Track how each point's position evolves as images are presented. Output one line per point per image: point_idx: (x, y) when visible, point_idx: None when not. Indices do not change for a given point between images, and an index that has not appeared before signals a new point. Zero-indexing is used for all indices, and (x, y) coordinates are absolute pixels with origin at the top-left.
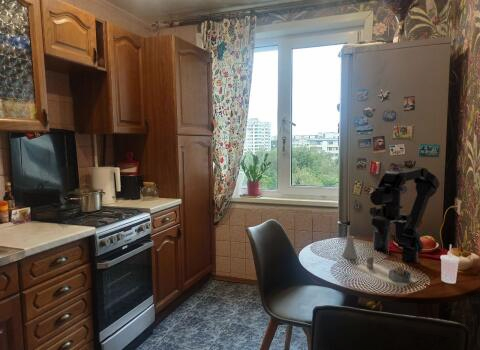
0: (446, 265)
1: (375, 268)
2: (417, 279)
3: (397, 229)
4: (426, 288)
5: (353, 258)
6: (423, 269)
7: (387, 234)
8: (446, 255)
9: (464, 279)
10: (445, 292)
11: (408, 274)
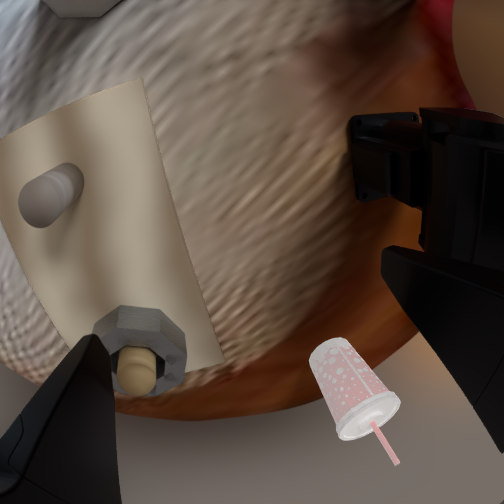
0: (333, 414)
1: (92, 201)
2: (213, 360)
3: (472, 320)
4: (201, 389)
5: (75, 9)
6: (359, 251)
7: (105, 485)
8: (390, 400)
9: (379, 347)
10: (236, 409)
11: (163, 386)
